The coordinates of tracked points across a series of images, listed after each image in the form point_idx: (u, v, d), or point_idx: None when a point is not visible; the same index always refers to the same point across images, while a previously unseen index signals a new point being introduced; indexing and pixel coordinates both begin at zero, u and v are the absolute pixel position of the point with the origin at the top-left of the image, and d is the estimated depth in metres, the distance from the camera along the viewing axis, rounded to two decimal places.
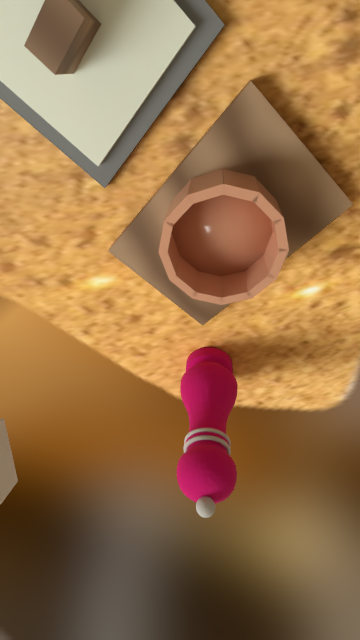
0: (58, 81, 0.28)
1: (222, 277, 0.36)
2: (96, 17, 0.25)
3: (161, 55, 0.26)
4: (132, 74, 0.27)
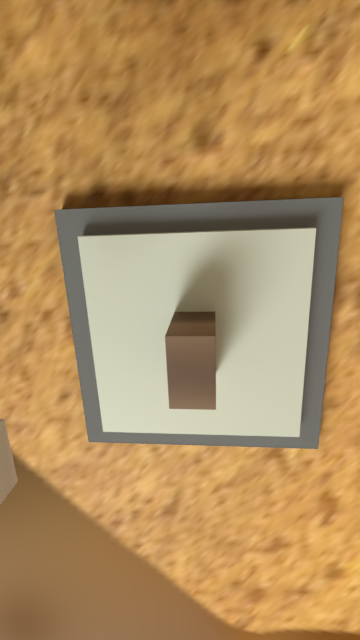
0: None
1: None
2: (207, 310, 0.20)
3: (296, 283, 0.19)
4: (277, 325, 0.20)
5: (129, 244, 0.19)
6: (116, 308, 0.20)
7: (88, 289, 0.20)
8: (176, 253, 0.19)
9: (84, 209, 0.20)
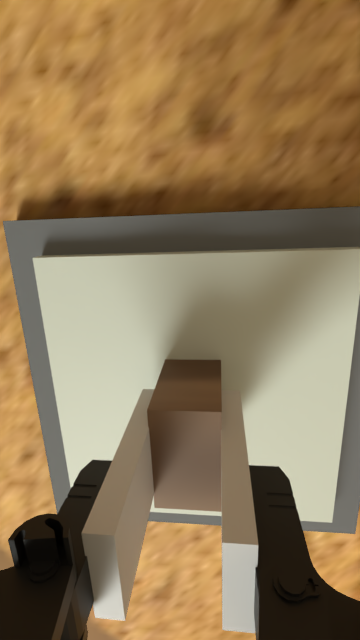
0: None
1: None
2: (209, 358, 0.15)
3: (334, 324, 0.14)
4: (306, 379, 0.14)
5: (103, 268, 0.14)
6: (87, 353, 0.15)
7: (49, 328, 0.15)
8: (167, 281, 0.14)
9: (43, 221, 0.14)
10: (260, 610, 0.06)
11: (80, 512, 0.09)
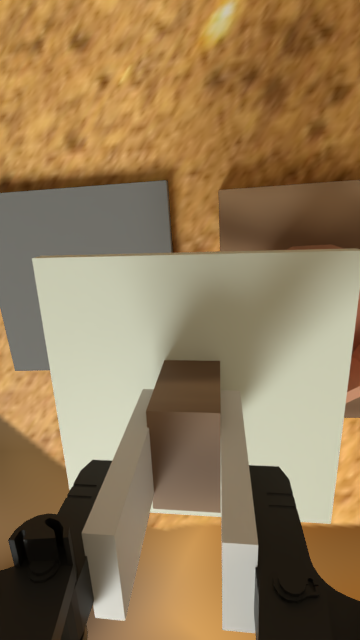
0: None
1: (353, 355, 0.28)
2: (209, 359, 0.15)
3: (333, 326, 0.14)
4: (305, 381, 0.14)
5: (102, 269, 0.14)
6: (86, 353, 0.15)
7: (48, 328, 0.15)
8: (167, 282, 0.14)
9: None
10: (260, 610, 0.06)
11: (80, 512, 0.09)
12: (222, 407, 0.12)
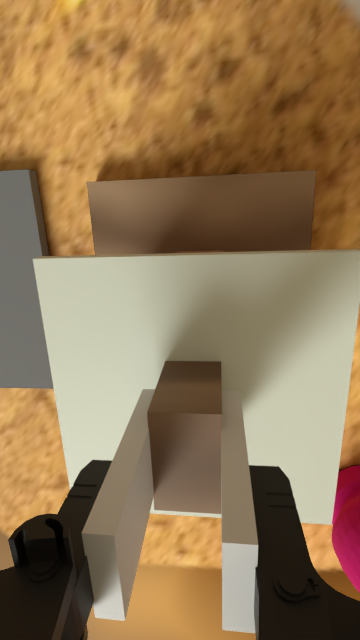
0: None
1: None
2: (210, 360, 0.15)
3: (335, 326, 0.14)
4: (306, 381, 0.14)
5: (103, 270, 0.14)
6: (87, 354, 0.15)
7: (49, 329, 0.15)
8: (168, 283, 0.14)
9: None
10: (260, 610, 0.06)
11: (80, 512, 0.09)
12: (222, 407, 0.12)
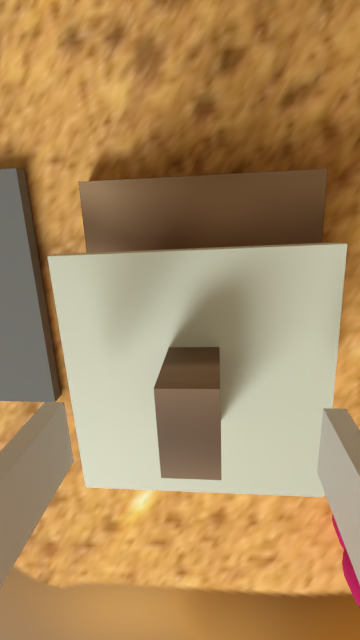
0: None
1: None
2: (209, 346, 0.16)
3: (321, 312, 0.15)
4: (297, 364, 0.16)
5: (111, 265, 0.15)
6: (97, 343, 0.17)
7: (62, 320, 0.16)
8: (170, 276, 0.15)
9: None
10: None
11: None
12: (336, 429, 0.11)
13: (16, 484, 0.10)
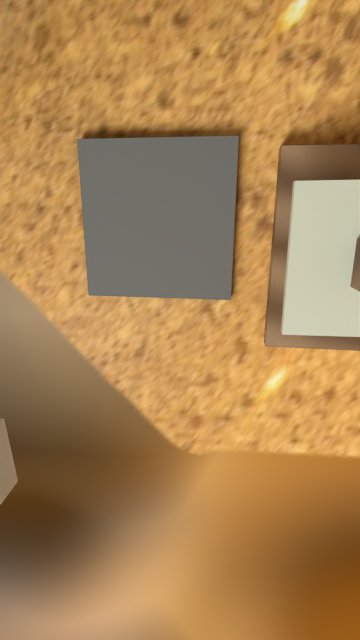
0: None
1: None
2: None
3: None
4: None
5: (333, 187, 0.27)
6: (313, 235, 0.28)
7: (294, 220, 0.28)
8: None
9: (94, 139, 0.34)
10: None
11: None
12: None
13: None
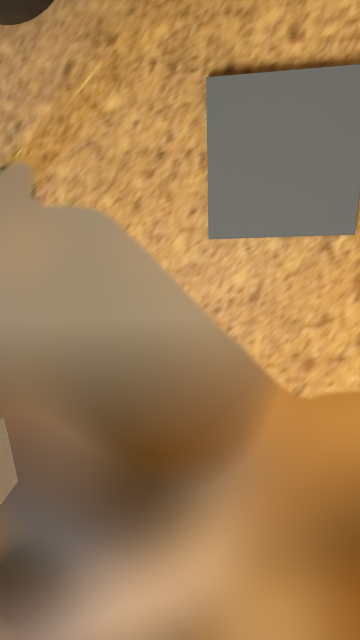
0: None
1: None
2: None
3: None
4: None
5: None
6: None
7: None
8: None
9: (224, 76, 0.34)
10: None
11: None
12: None
13: None
